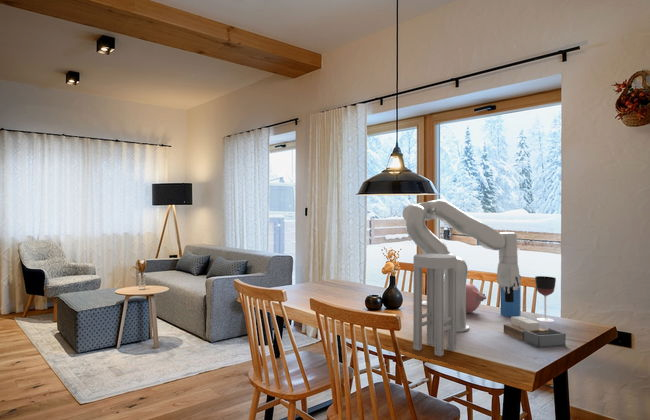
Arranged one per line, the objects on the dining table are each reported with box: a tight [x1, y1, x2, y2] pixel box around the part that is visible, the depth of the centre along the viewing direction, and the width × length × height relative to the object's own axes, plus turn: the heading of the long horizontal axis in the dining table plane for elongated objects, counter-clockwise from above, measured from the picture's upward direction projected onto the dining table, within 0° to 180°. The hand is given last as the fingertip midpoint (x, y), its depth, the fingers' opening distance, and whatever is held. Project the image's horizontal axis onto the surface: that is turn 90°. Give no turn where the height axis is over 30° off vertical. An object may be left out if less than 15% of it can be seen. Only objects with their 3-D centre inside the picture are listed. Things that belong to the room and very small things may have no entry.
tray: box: [522, 327, 567, 349], centre depth 170 cm, size 12×8×4 cm
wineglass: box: [534, 275, 557, 323], centre depth 206 cm, size 8×9×20 cm
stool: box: [412, 253, 457, 357], centre depth 162 cm, size 16×16×35 cm
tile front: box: [520, 319, 540, 331], centre depth 178 cm, size 5×5×3 cm
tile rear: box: [510, 315, 530, 327], centre depth 183 cm, size 5×5×3 cm
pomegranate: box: [466, 281, 487, 314], centre depth 218 cm, size 15×20×15 cm
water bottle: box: [500, 273, 522, 318], centre depth 216 cm, size 9×9×25 cm
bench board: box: [503, 323, 548, 342], centre depth 180 cm, size 12×12×4 cm
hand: (509, 301), depth 191 cm, fingers closed
